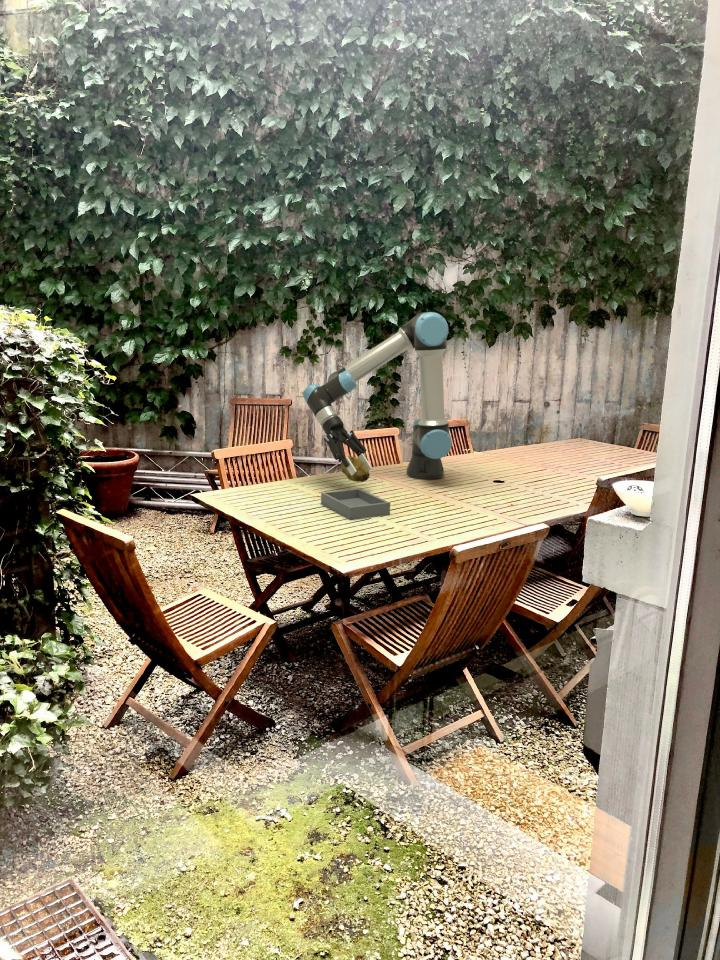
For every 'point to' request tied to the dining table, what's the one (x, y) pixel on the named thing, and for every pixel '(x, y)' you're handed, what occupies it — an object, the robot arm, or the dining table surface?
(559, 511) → the dining table surface
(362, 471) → the potato
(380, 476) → the dining table surface
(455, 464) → the dining table surface
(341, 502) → the tray
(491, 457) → the dining table surface
